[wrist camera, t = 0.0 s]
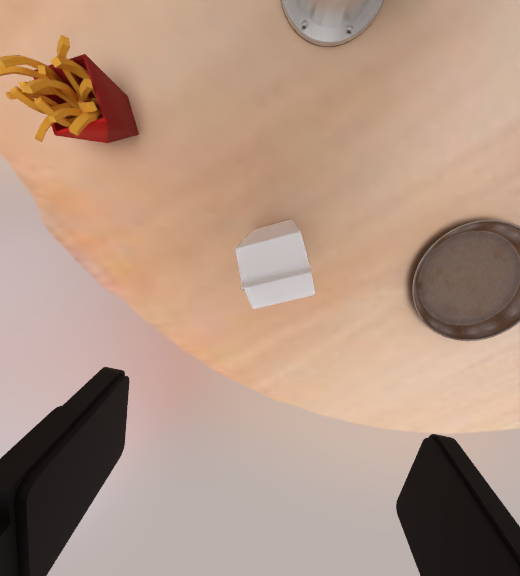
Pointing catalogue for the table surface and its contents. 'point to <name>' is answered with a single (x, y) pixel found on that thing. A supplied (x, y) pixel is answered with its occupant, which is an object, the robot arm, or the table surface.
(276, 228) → the milk
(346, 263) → the table surface
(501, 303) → the plant saucer
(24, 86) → the french fries
